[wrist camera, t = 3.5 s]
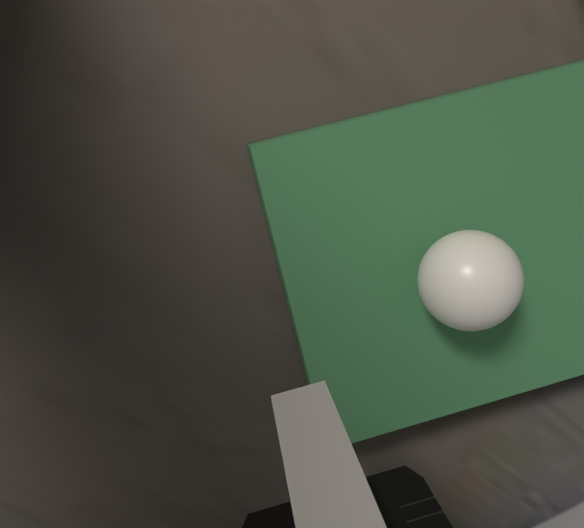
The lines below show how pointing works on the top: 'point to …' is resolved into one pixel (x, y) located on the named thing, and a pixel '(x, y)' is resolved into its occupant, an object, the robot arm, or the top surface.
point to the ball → (470, 280)
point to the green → (422, 235)
